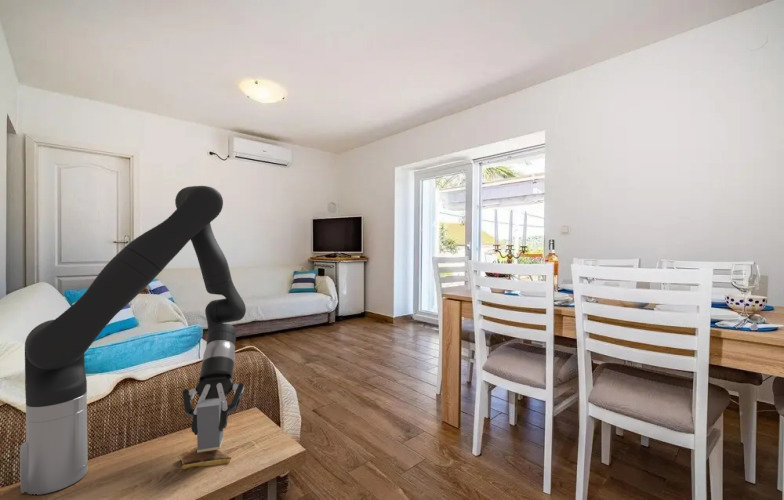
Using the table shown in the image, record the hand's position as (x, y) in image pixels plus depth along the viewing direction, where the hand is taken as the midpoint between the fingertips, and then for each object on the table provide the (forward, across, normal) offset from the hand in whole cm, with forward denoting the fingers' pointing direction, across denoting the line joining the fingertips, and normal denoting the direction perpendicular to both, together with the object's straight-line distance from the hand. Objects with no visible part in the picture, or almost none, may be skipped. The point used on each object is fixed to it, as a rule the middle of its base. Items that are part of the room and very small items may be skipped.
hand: (208, 431), depth 80 cm
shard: (+4, -1, +6) cm, 7 cm away
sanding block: (+2, 0, +4) cm, 5 cm away
